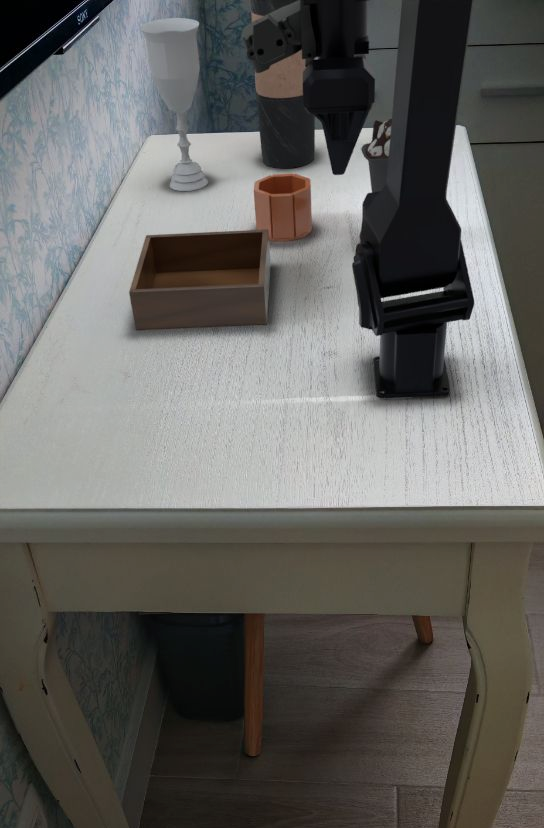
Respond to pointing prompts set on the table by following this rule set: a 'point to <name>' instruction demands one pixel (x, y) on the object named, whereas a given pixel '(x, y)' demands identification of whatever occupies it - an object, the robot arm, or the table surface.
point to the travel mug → (283, 105)
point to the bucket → (283, 206)
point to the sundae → (378, 154)
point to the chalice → (176, 84)
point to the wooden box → (202, 280)
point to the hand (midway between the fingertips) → (337, 156)
